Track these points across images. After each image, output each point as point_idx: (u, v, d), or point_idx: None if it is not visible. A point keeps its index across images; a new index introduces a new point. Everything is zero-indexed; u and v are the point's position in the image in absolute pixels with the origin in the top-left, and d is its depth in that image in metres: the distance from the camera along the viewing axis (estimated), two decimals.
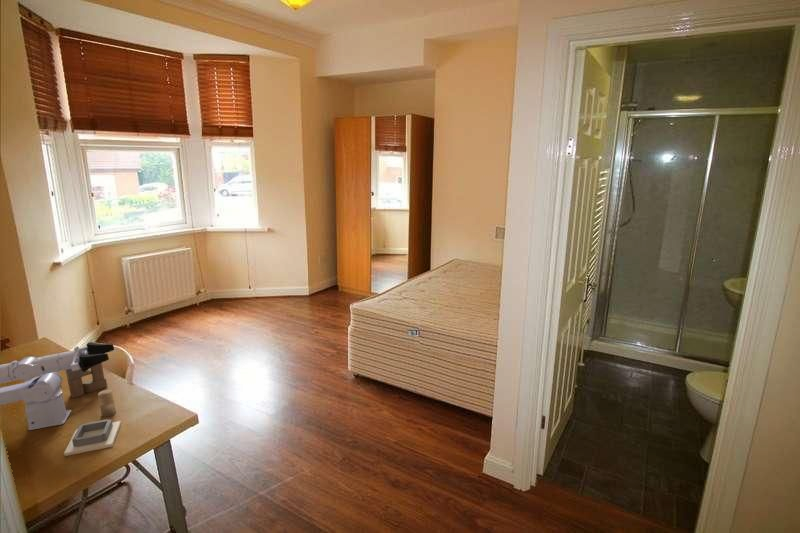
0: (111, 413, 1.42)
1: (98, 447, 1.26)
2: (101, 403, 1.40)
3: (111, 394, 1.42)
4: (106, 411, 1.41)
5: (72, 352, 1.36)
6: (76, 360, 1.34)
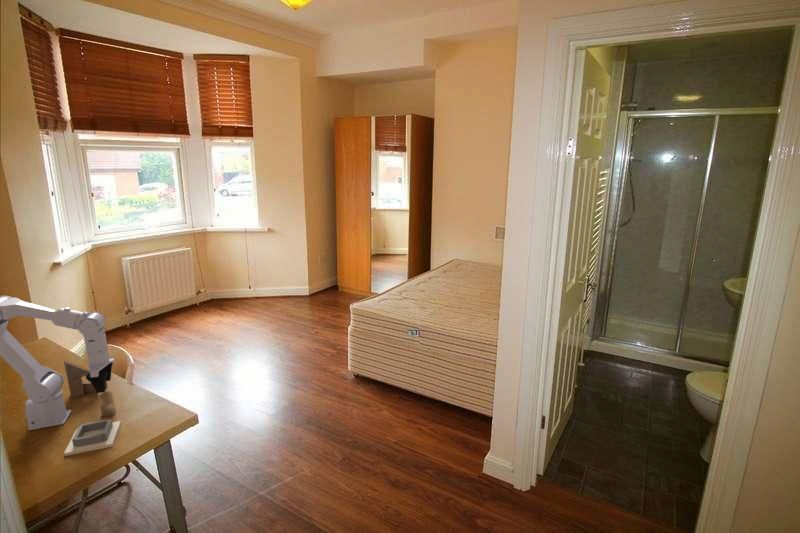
0: (111, 413, 1.42)
1: (98, 447, 1.26)
2: (101, 403, 1.40)
3: (111, 394, 1.42)
4: (106, 411, 1.41)
5: (108, 359, 1.39)
6: None
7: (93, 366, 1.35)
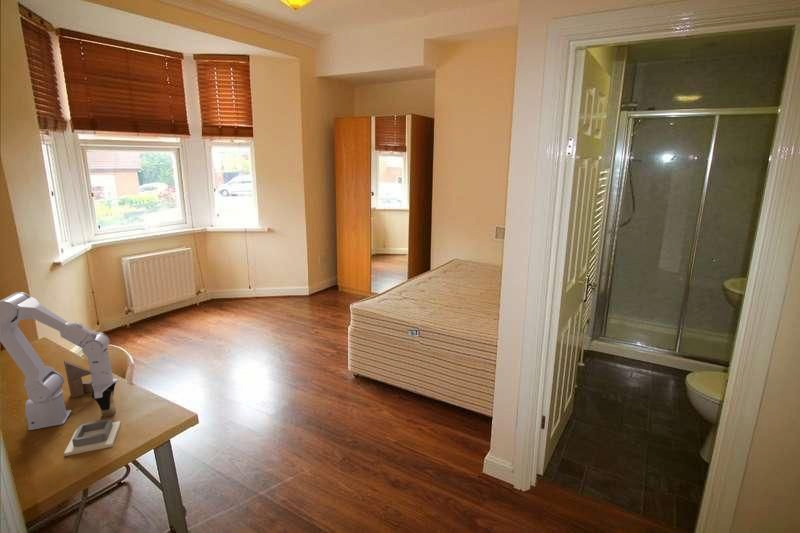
0: (111, 413, 1.42)
1: (98, 447, 1.26)
2: None
3: (111, 394, 1.42)
4: (106, 411, 1.41)
5: (111, 379, 1.40)
6: None
7: (97, 387, 1.37)
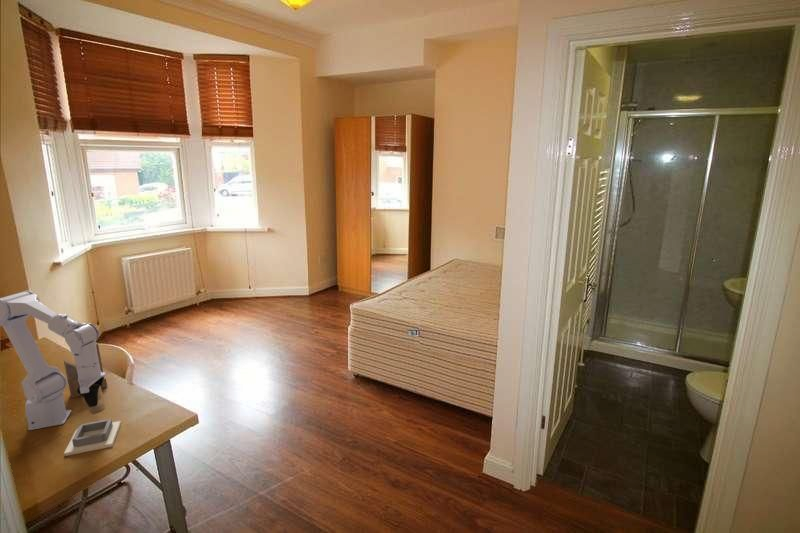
0: (99, 410, 1.32)
1: (98, 447, 1.26)
2: None
3: (99, 389, 1.32)
4: (94, 408, 1.31)
5: (99, 373, 1.30)
6: None
7: (83, 381, 1.27)
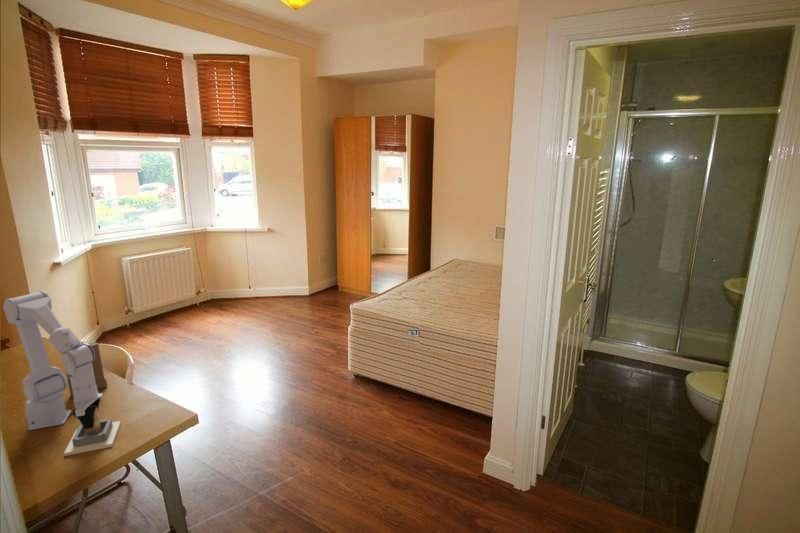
0: (96, 432, 1.29)
1: (98, 447, 1.26)
2: None
3: (96, 411, 1.28)
4: (90, 430, 1.28)
5: (95, 394, 1.27)
6: None
7: (79, 403, 1.24)
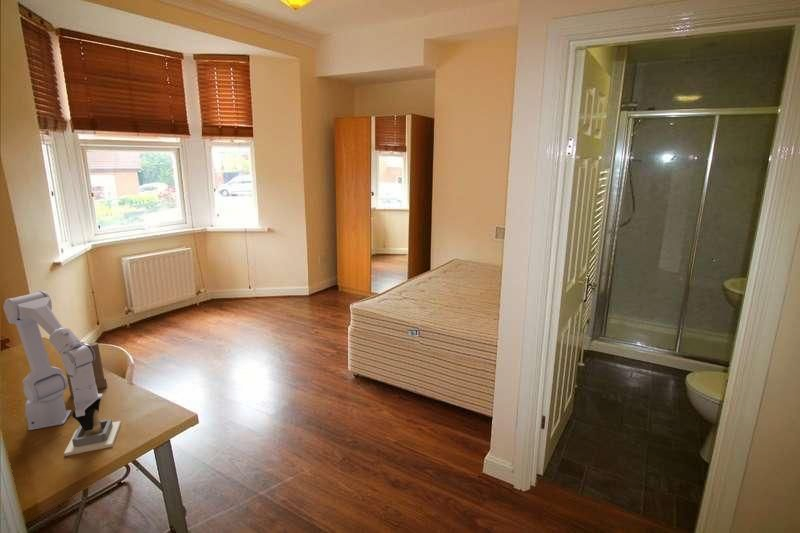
0: None
1: (98, 447, 1.26)
2: None
3: (97, 415, 1.29)
4: (91, 434, 1.28)
5: (95, 395, 1.27)
6: None
7: (79, 403, 1.24)
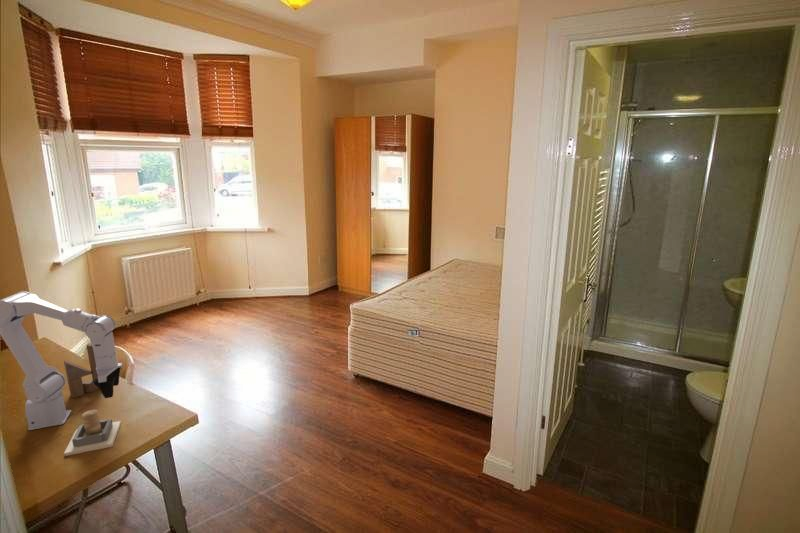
0: None
1: (98, 447, 1.26)
2: (85, 425, 1.27)
3: (97, 415, 1.29)
4: (91, 434, 1.28)
5: (116, 363, 1.36)
6: None
7: (101, 371, 1.33)
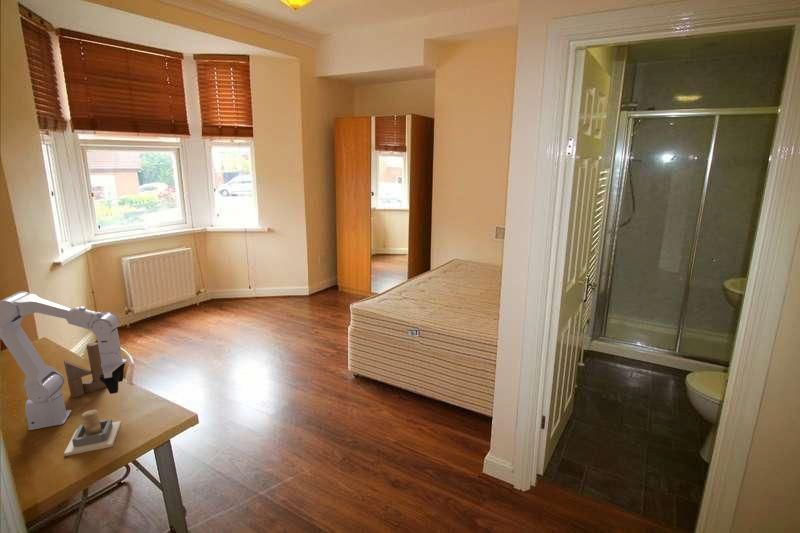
0: None
1: (98, 447, 1.26)
2: (85, 425, 1.27)
3: (97, 415, 1.29)
4: (91, 434, 1.28)
5: (121, 359, 1.38)
6: None
7: (106, 367, 1.35)
